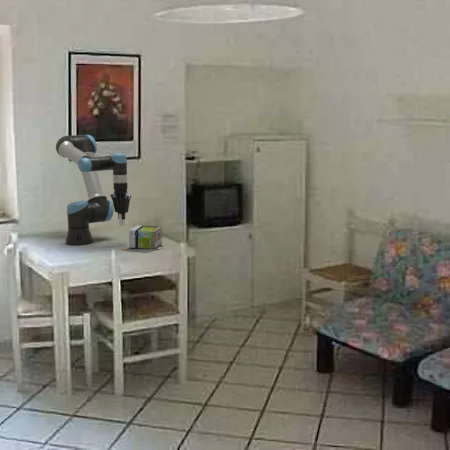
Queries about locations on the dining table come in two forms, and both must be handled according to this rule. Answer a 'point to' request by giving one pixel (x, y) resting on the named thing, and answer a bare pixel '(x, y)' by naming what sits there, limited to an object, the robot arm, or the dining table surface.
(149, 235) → the tea box
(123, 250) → the oak strip
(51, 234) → the dining table surface
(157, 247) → the mat
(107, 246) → the dining table surface
